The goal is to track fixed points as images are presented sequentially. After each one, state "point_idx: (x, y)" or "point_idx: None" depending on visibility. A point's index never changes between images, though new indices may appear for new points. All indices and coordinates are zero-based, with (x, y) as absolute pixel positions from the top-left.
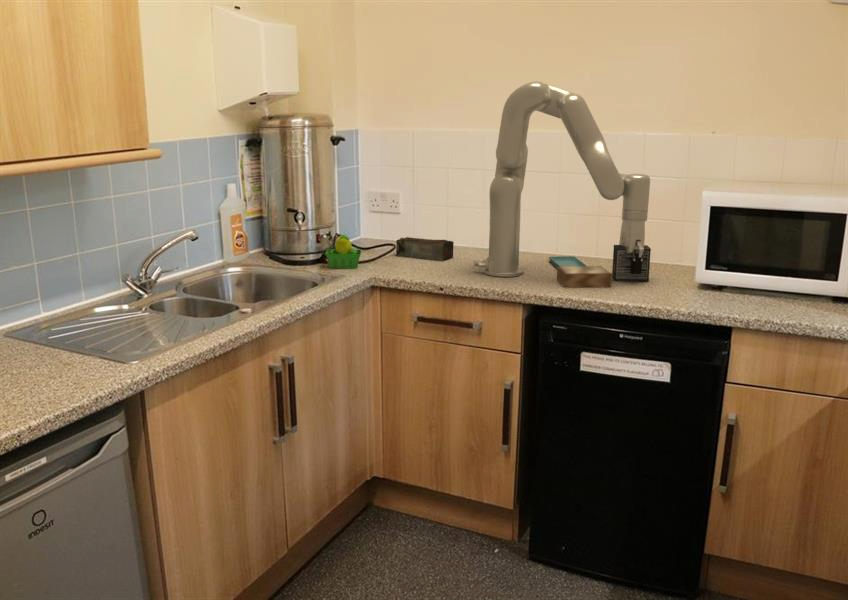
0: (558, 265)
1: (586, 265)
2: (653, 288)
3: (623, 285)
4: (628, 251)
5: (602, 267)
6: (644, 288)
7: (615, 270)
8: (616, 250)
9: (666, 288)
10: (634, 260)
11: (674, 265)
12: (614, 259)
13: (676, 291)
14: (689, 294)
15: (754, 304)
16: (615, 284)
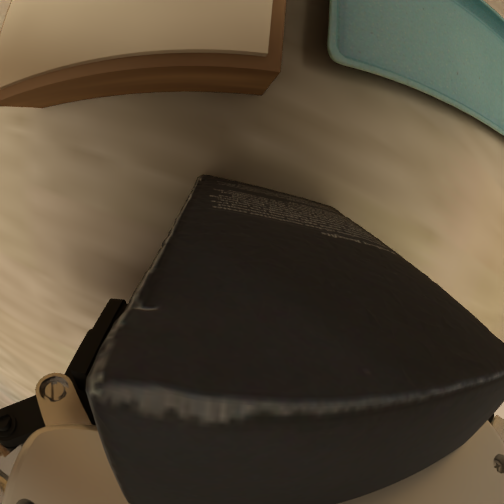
0: (492, 8)
1: (497, 130)
2: (45, 328)
3: (75, 199)
4: (30, 439)
5: (188, 41)
6: (34, 290)
7: (191, 193)
8: (118, 327)
9: (61, 371)
10: (43, 384)
11: None
12: (284, 235)
13: (32, 376)
14: (14, 385)
15: None
16: (99, 152)
